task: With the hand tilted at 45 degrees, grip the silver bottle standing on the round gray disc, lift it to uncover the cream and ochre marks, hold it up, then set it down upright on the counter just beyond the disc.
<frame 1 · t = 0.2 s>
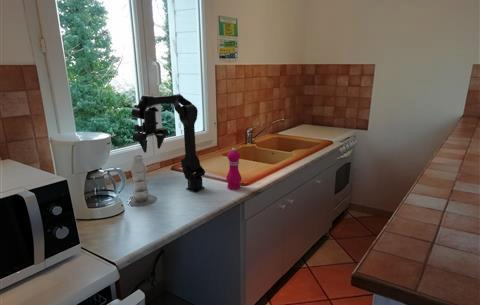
hand: (152, 150, 163), 15 cm above the countertop, tool pointing down, fingers open, 9 cm apart
silver bottle: (141, 200, 140), resting on round gray disc
round gray disc: (141, 200, 140), on the countertop
pepper mill: (233, 187, 154), on the countertop
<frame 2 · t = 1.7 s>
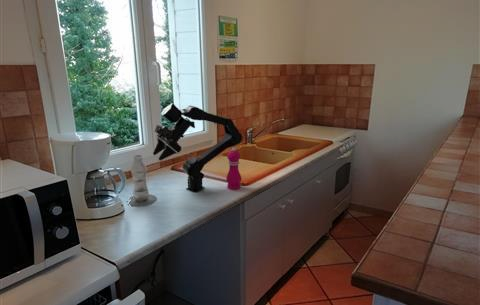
hand: (156, 157, 139), 18 cm above the countertop, tool tilted 45°, fingers open, 9 cm apart
nothing on the countertop moved.
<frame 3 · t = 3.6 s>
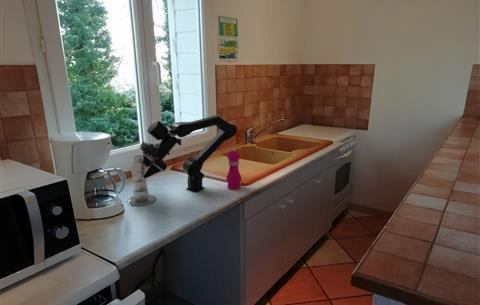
hand: (141, 174, 137), 12 cm above the countertop, tool tilted 45°, fingers open, 9 cm apart
nothing on the countertop moved.
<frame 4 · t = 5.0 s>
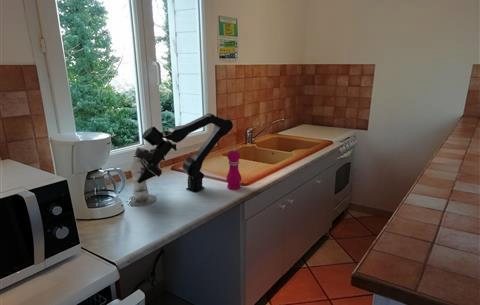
hand: (136, 180, 136), 10 cm above the countertop, tool tilted 45°, fingers closed on silver bottle, 6 cm apart
silver bottle: (141, 200, 140), resting on round gray disc, touching gripper
everything else where it was.
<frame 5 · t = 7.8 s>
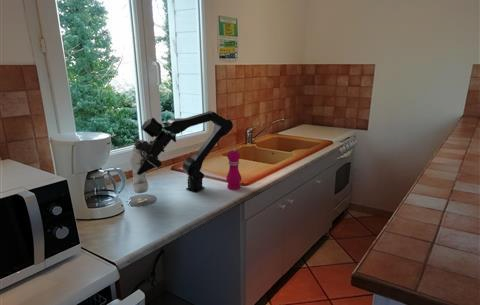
hand: (136, 172, 135), 13 cm above the countertop, tool tilted 45°, fingers closed on silver bottle, 6 cm apart
silver bottle: (141, 192, 139), point 4 cm above the countertop, touching gripper
everything else where it was.
when the fingers open (10 cm above the countertop, at t = 10.2 s): silver bottle stays where it is, on the countertop.
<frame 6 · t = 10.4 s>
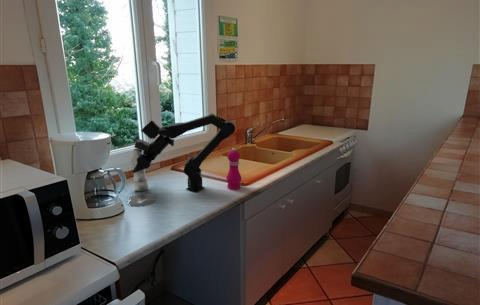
hand: (135, 169, 147), 11 cm above the countertop, tool tilted 45°, fingers open, 9 cm apart
silver bottle: (141, 190, 151), on the countertop
everything else where it was.
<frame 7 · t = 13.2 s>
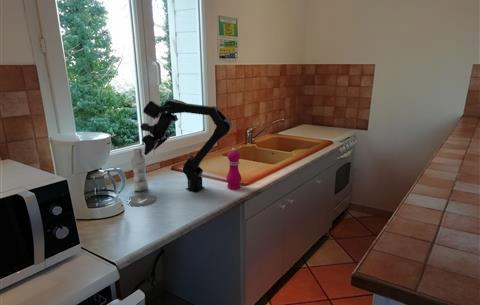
hand: (149, 151, 151), 17 cm above the countertop, tool tilted 30°, fingers open, 9 cm apart
nothing on the countertop moved.
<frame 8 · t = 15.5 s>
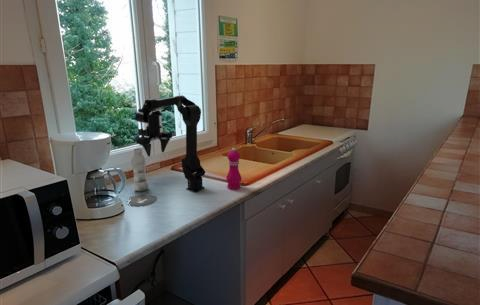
hand: (156, 154, 162), 13 cm above the countertop, tool pointing down, fingers open, 9 cm apart
nothing on the countertop moved.
at the end: silver bottle inside the target area (0.3 cm from its centre), on the countertop; silver bottle tilted 0°; the gripper is holding nothing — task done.
